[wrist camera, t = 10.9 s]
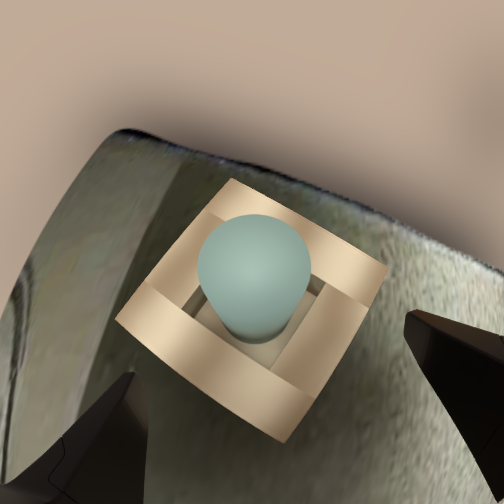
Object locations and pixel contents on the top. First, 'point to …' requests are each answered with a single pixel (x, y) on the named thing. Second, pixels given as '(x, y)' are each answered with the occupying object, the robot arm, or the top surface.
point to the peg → (254, 275)
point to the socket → (255, 355)
